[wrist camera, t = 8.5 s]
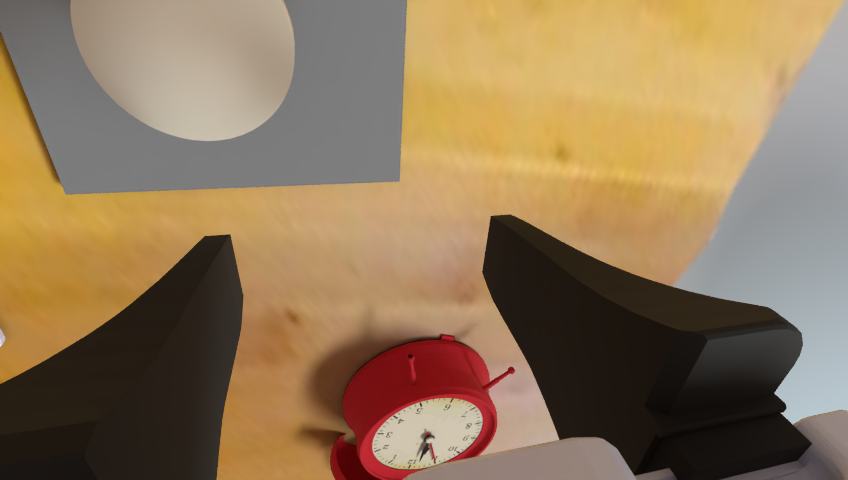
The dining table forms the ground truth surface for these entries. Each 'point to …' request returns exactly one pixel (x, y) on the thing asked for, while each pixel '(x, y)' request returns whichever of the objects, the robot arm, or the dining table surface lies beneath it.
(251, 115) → the stool
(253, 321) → the dining table surface
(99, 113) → the mat
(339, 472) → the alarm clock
